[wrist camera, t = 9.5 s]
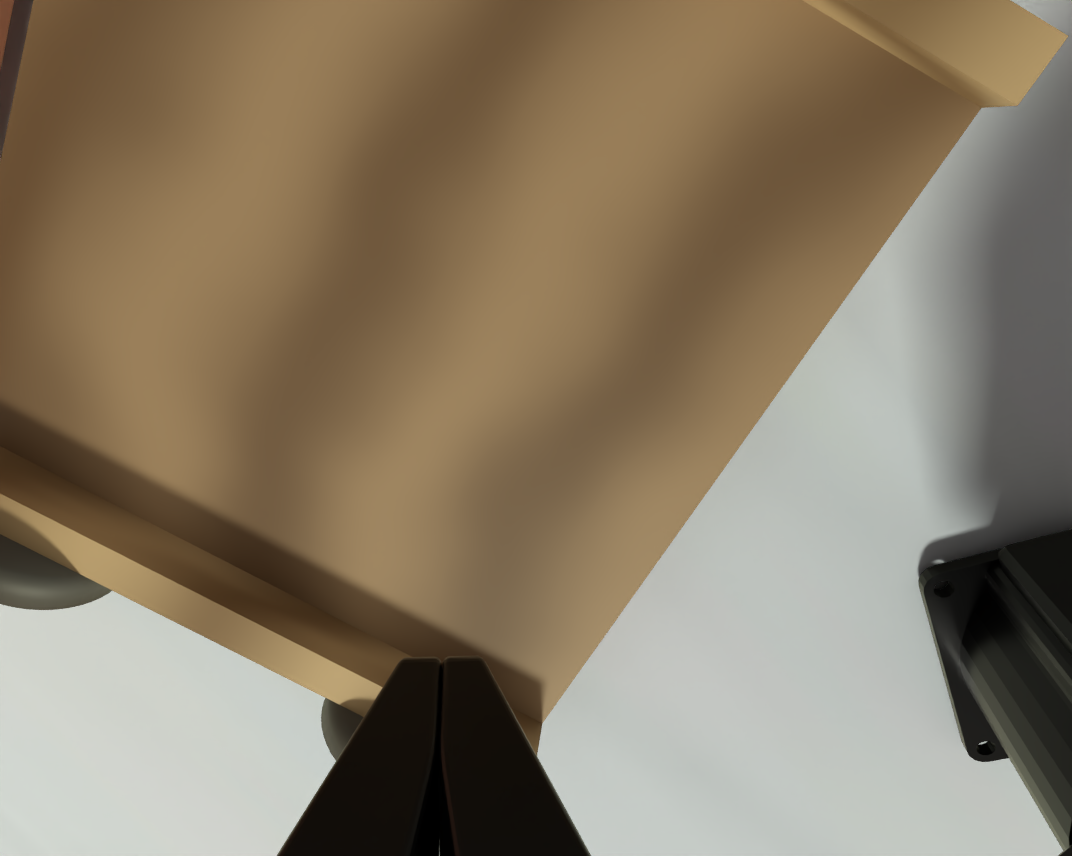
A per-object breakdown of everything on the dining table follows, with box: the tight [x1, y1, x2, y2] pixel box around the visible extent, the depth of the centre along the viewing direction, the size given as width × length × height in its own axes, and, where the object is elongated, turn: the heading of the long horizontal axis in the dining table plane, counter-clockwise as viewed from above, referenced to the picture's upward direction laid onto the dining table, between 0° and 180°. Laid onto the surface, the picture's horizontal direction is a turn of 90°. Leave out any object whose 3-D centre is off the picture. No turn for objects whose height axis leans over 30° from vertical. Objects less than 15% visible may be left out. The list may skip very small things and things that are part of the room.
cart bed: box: [0, 0, 1068, 761], centre depth 17 cm, size 18×23×4 cm
